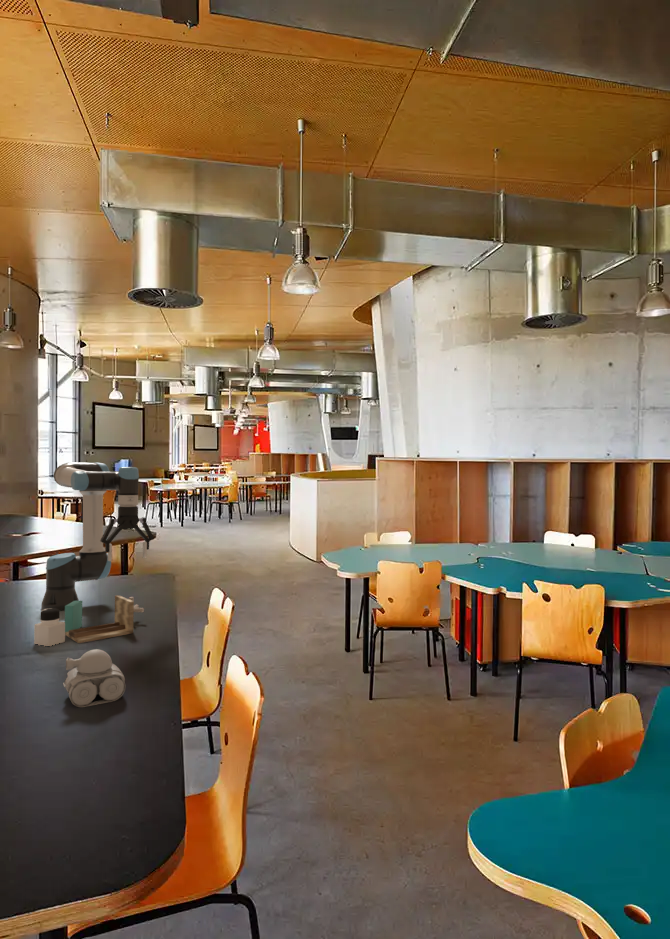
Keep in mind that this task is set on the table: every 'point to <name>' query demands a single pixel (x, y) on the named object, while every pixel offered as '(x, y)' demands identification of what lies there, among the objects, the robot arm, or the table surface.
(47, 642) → the medicine bottle
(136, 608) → the pipe connector
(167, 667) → the table surface
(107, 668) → the toy tank
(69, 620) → the teal rectangular block
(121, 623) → the wooden slatted rack
